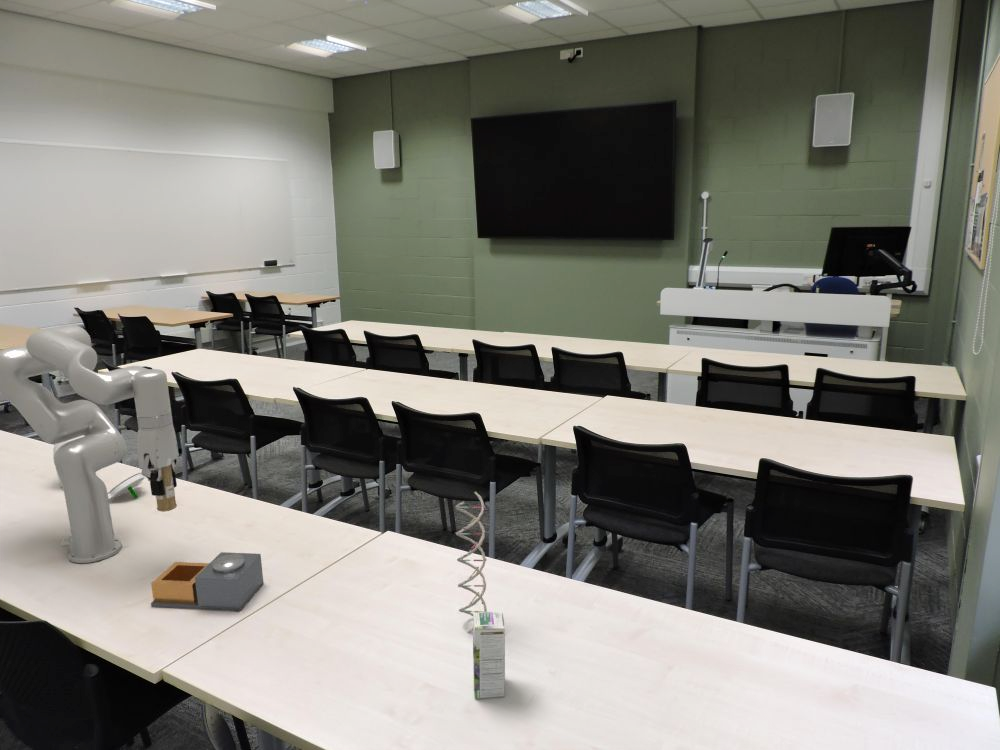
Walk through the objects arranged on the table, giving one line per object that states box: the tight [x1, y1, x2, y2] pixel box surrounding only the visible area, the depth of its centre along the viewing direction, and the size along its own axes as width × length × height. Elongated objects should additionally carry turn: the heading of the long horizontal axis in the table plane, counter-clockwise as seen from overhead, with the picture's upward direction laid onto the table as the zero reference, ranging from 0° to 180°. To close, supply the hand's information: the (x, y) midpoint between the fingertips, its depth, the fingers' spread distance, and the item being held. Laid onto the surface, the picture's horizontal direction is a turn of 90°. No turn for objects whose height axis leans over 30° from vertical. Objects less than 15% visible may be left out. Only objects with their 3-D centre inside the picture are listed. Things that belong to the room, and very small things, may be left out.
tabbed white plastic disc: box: [107, 472, 146, 500], centre depth 222 cm, size 15×8×11 cm
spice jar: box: [152, 458, 178, 513], centre depth 173 cm, size 5×5×14 cm
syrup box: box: [472, 611, 506, 700], centre depth 130 cm, size 6×6×14 cm
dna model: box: [454, 491, 488, 634], centre depth 148 cm, size 7×6×30 cm
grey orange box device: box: [150, 551, 265, 612], centre depth 165 cm, size 22×15×9 cm
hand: (164, 490), depth 173 cm, fingers closed on spice jar, 4 cm apart
